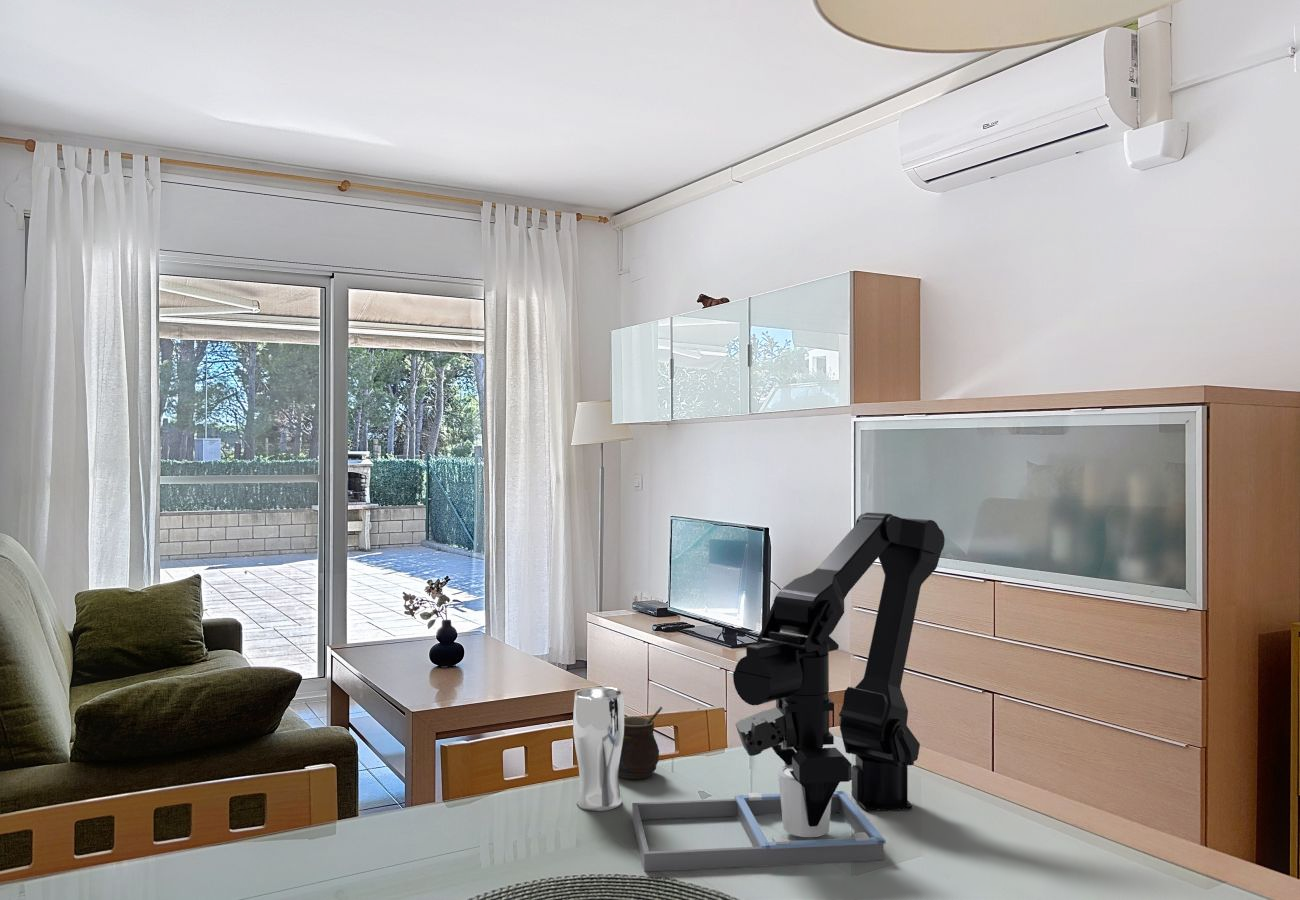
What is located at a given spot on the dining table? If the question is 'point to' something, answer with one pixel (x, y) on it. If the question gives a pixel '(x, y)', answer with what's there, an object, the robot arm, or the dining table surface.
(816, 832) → the light grey cup
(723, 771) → the dining table surface
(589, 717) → the beer glass
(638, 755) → the mate gourd
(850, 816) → the two-slot open tray
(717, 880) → the dining table surface
